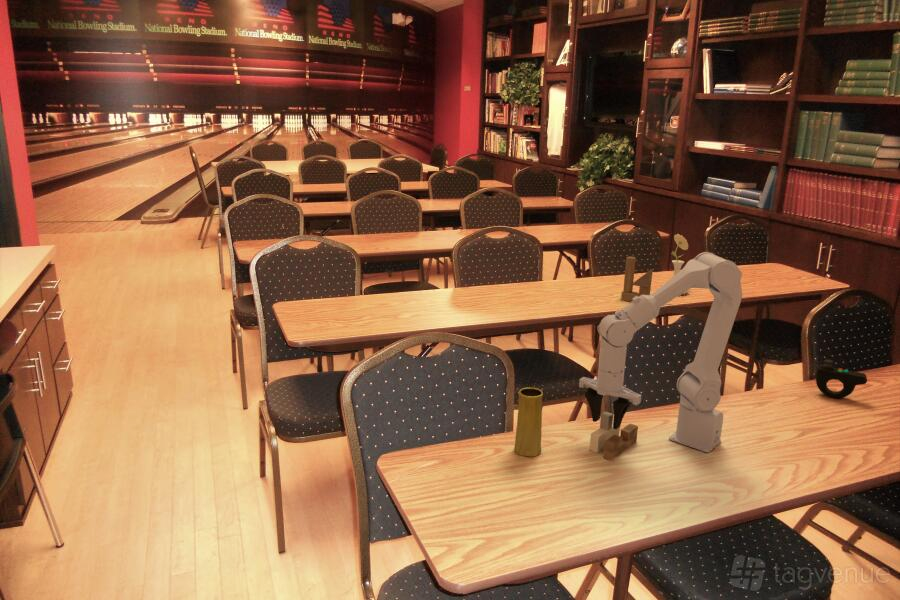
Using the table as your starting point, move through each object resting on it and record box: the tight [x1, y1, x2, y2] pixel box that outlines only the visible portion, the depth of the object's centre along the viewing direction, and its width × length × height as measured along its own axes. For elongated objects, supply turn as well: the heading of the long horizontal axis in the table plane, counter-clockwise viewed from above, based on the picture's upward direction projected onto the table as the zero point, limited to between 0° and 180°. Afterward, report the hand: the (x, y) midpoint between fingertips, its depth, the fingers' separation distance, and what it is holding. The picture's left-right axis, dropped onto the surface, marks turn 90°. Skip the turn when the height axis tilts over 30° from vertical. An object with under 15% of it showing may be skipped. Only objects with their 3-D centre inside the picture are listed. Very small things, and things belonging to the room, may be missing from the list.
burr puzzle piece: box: [589, 410, 621, 453], centre depth 153 cm, size 10×2×8 cm, turn 138°
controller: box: [813, 359, 868, 399], centre depth 180 cm, size 4×12×10 cm, turn 58°
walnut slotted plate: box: [602, 423, 639, 461], centre depth 150 cm, size 12×2×4 cm, turn 138°
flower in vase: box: [662, 233, 690, 295], centre depth 282 cm, size 13×11×25 cm
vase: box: [513, 387, 544, 458], centre depth 148 cm, size 6×6×14 cm
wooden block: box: [620, 256, 654, 303], centre depth 267 cm, size 4×11×18 cm, turn 54°
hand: (606, 423), depth 152 cm, fingers open, 5 cm apart
